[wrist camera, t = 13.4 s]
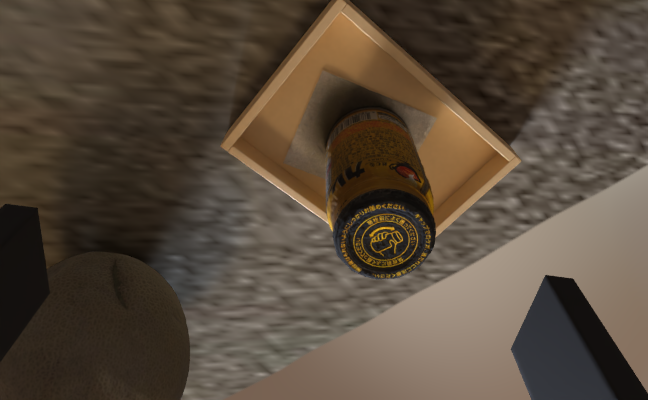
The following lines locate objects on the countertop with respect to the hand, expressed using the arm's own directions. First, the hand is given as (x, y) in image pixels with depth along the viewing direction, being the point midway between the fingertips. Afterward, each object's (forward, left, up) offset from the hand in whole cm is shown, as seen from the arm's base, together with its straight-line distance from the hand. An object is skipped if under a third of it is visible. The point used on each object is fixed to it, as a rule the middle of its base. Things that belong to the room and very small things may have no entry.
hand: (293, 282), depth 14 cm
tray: (+5, +5, -23) cm, 24 cm away
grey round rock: (+22, -12, -23) cm, 34 cm away
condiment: (+5, +4, -23) cm, 24 cm away
